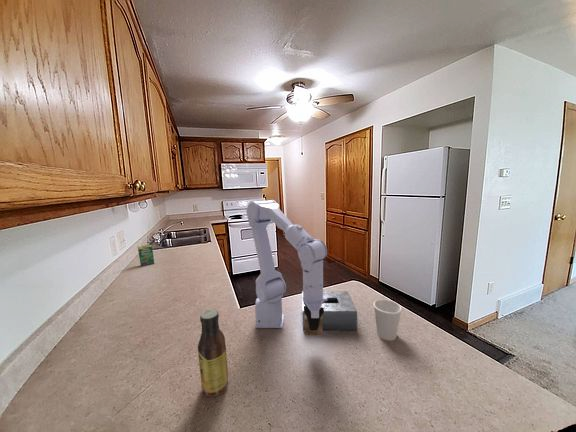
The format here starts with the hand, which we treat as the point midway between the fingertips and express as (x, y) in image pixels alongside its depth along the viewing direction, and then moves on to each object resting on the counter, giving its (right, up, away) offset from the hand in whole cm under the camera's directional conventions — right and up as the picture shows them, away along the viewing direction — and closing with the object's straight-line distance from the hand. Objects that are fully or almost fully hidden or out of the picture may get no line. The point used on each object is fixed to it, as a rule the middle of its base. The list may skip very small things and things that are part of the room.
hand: (313, 326), depth 65 cm
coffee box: (-101, 0, +82) cm, 130 cm away
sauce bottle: (-25, -10, -11) cm, 29 cm away
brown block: (0, -2, 0) cm, 2 cm away
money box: (+7, -5, +16) cm, 19 cm away
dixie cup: (+25, -6, +7) cm, 26 cm away
